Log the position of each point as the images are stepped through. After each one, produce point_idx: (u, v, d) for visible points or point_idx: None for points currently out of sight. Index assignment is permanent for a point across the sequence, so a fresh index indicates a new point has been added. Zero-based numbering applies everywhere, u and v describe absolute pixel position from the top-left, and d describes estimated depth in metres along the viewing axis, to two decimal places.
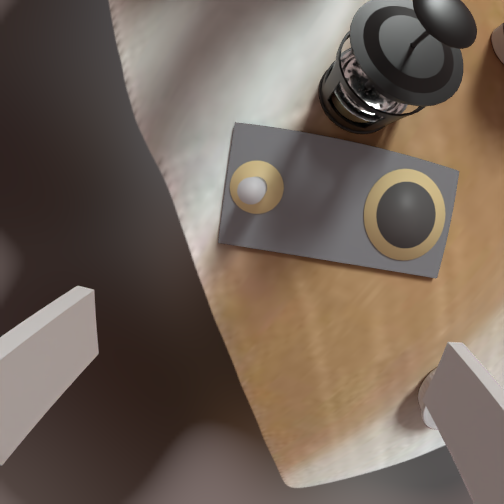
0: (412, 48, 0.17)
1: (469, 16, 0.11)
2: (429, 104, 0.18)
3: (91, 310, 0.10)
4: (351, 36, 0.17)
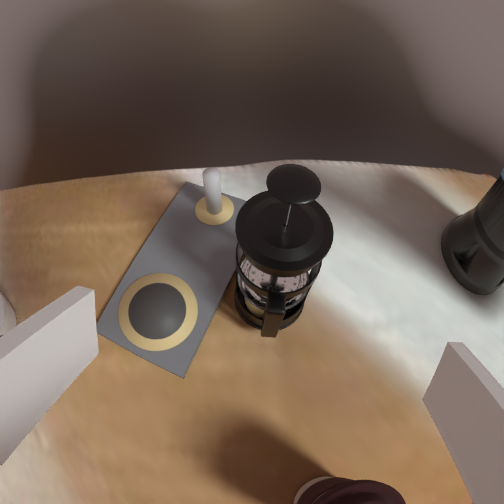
0: (282, 222, 0.29)
1: (296, 197, 0.23)
2: (236, 225, 0.29)
3: (91, 310, 0.10)
4: None
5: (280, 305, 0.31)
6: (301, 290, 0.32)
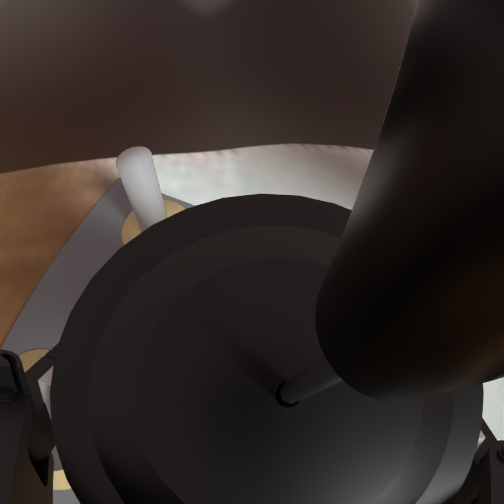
0: (273, 386, 0.05)
1: None
2: (55, 370, 0.05)
3: None
4: (329, 203, 0.07)
5: None
6: None
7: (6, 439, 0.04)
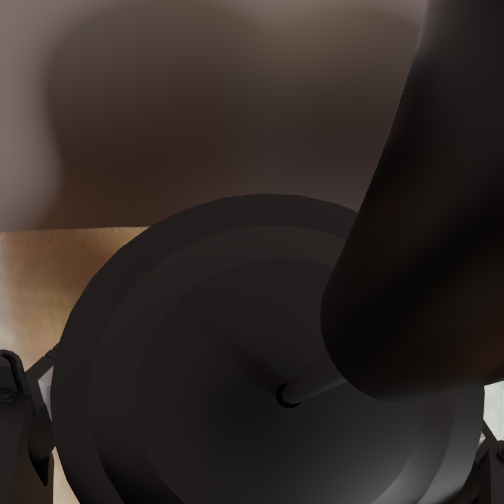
0: (274, 386, 0.05)
1: None
2: (55, 371, 0.05)
3: None
4: (330, 203, 0.07)
5: None
6: None
7: (6, 439, 0.04)
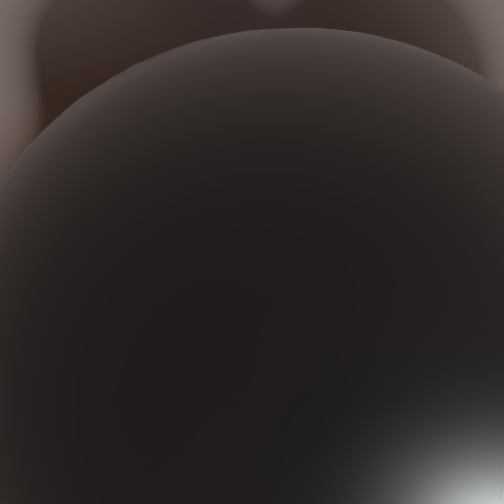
0: None
1: None
2: None
3: None
4: None
5: None
6: None
7: None
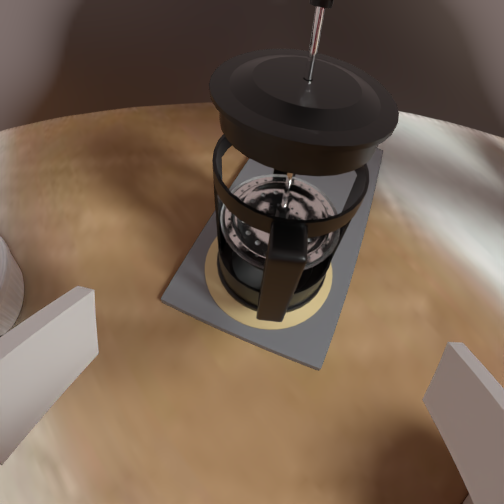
0: (302, 76, 0.13)
1: None
2: (211, 79, 0.13)
3: (91, 310, 0.10)
4: (317, 53, 0.16)
5: (297, 244, 0.15)
6: (337, 220, 0.16)
7: None
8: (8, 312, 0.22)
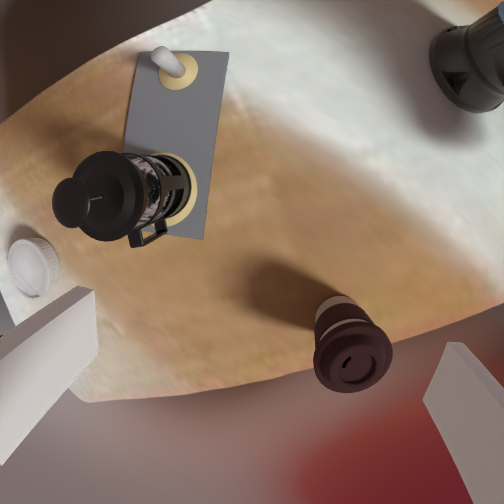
0: (99, 196, 0.29)
1: (73, 221, 0.23)
2: None
3: (91, 310, 0.10)
4: (102, 151, 0.28)
5: (138, 240, 0.35)
6: (151, 221, 0.35)
7: None
8: (55, 268, 0.49)
